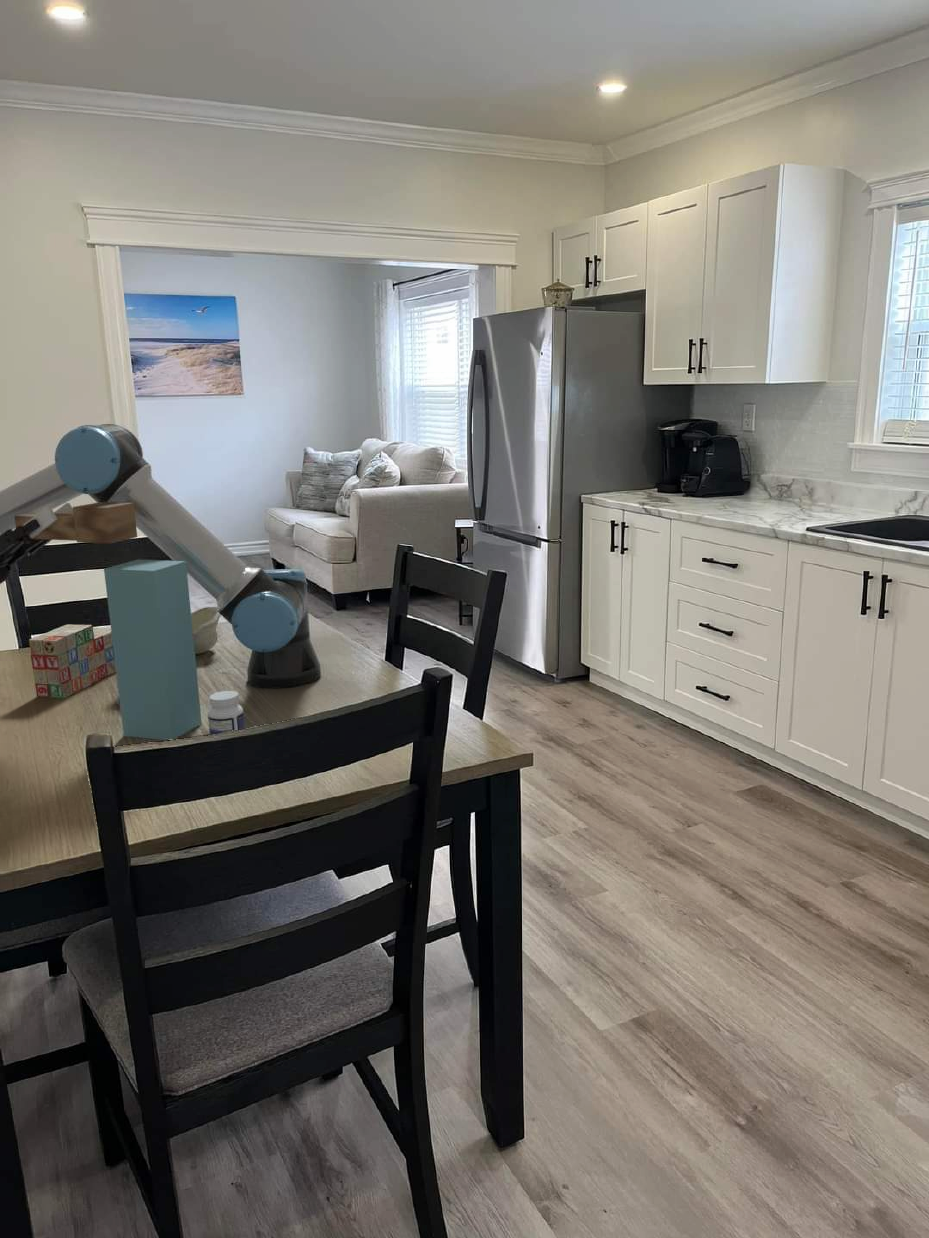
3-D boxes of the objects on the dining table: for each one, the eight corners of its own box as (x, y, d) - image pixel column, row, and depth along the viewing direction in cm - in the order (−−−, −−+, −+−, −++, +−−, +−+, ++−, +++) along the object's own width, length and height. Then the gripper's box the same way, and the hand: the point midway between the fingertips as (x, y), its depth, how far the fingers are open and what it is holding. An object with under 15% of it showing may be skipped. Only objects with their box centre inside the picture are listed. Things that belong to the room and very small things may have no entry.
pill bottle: (232, 742, 160) (227, 687, 157) (253, 749, 156) (249, 693, 154) (204, 752, 155) (199, 696, 153) (225, 760, 152) (220, 702, 150)
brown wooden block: (137, 537, 163) (133, 502, 162) (111, 543, 156) (107, 507, 155) (39, 533, 169) (35, 500, 168) (10, 539, 163) (6, 505, 161)
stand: (201, 723, 169) (185, 561, 162) (172, 740, 161) (154, 570, 154) (155, 718, 172) (137, 559, 165) (123, 735, 164) (103, 568, 157)
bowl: (159, 649, 220) (155, 608, 218) (219, 641, 226) (215, 601, 224) (168, 664, 207) (163, 621, 205) (231, 656, 213) (228, 613, 210)
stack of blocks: (99, 667, 207) (93, 613, 204) (124, 668, 206) (118, 614, 203) (36, 697, 187) (27, 638, 184) (63, 699, 186) (55, 639, 183)
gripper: (24, 581, 179) (105, 523, 170) (-48, 600, 164) (37, 537, 155) (4, 547, 179) (84, 487, 170) (-70, 563, 163) (14, 498, 154)
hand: (62, 511), depth 162 cm, fingers closed on brown wooden block, 4 cm apart
